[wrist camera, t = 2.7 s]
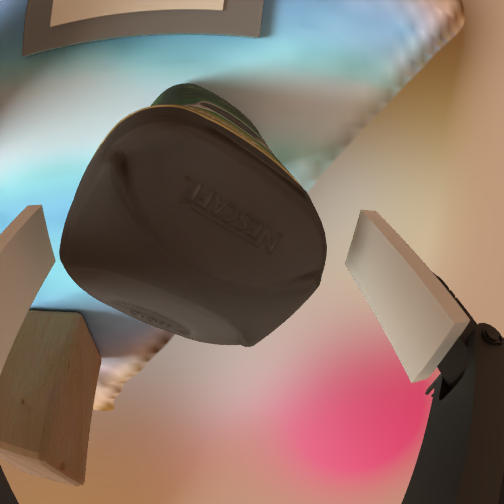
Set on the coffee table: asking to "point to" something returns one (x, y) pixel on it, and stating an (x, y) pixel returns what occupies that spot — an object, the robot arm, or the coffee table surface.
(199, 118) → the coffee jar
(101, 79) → the coffee table surface
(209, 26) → the grey square frame
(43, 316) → the wooden block
